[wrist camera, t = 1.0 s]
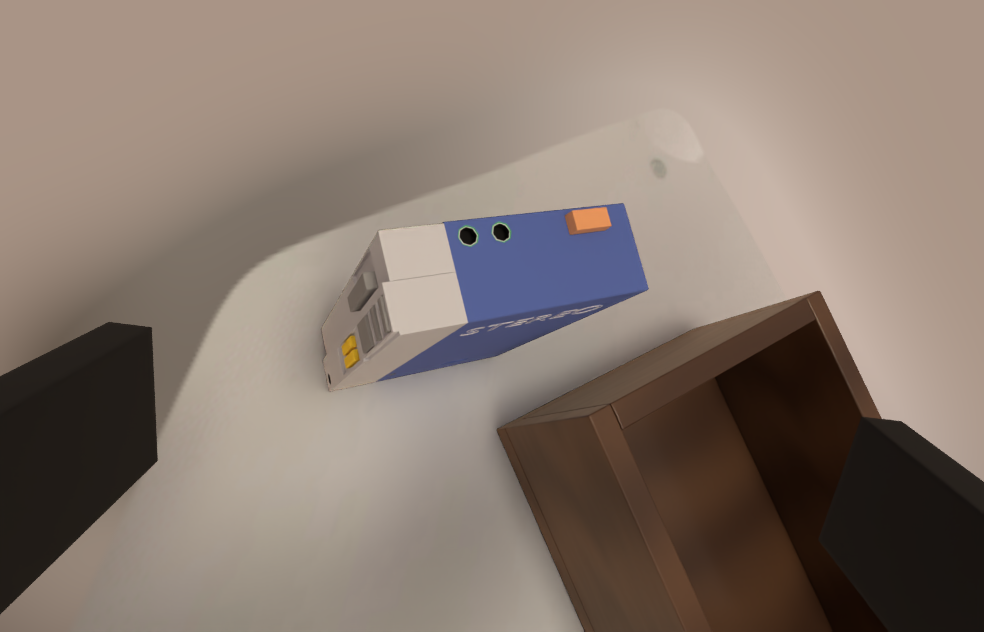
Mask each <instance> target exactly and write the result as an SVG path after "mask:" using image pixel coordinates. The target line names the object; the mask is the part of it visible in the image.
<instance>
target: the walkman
mask: <svg viewBox="0 0 984 632" xmlns="http://www.w3.org/2000/svg"><path fill="white" fill-rule="evenodd" d="M648 289H649V288H648V285H647V281H646V278H645V274H644V271H643V268H642V264H641V261H640V257H639V254H638V250H637V247H636V243H635V240H634V237H633V233H632V230H631V226H630V223H629V219H628V216H627V213H626V209H625V206H624V204H623V203H621V204H611V205H601V206H592V207H582V208H573V209H563V210H554V211H544V212H535V213H525V214H516V215H506V216H496V217H487V218H477V219H468V220H458V221H449V222H443V223H441V224H432V225H422V226H413V227H403V228H394V229H384V230H378V232H377V233H376V235H375V237H374V239H373V240H372V242H371V244H370V245H369V247H368V249H367V251H366V252H365V254H364V256H363V258H362V259H361V261H360V263H359V264H358V266H357V268H356V270H355V271H354V273H353V275H352V277H351V278H350V280H349V282H348V283H347V285H346V287H345V289H344V290H343V292H342V294H341V296H340V297H339V299H338V301H337V302H336V304H335V306H334V308H333V309H332V311H331V313H330V314H329V316H328V318H327V320H326V321H325V323H324V325H323V327H322V328H321V331H322V336H323V340H324V345H325V350H326V354H327V355H326V357H325V358H324V359H323V364H324V369H325V374H326V379H327V384H328V388H329V392H331V391H335V390H340V389H345V388H349V387H354V386H359V385H364V384H368V383H373V382H377V381H382V380H387V379H391V378H396V377H401V376H405V375H410V374H415V373H419V372H424V371H429V370H433V369H438V368H443V367H447V366H452V365H457V364H461V363H466V362H471V361H475V360H480V359H485V358H490V357H494V356H498V355H500V354H502V353H505V352H507V351H509V350H512V349H514V348H516V347H518V346H521V345H523V344H525V343H528V342H530V341H532V340H534V339H537V338H539V337H541V336H544V335H546V334H548V333H550V332H553V331H555V330H557V329H560V328H562V327H564V326H567V325H569V324H571V323H573V322H576V321H578V320H580V319H583V318H585V317H587V316H589V315H592V314H594V313H596V312H599V311H601V310H603V309H605V308H608V307H610V306H612V305H615V304H617V303H619V302H622V301H624V300H626V299H628V298H631V297H633V296H635V295H638V294H640V293H642V292H644V291H647V290H648Z"/></svg>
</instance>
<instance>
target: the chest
mask: <svg viewBox="0 0 984 632" xmlns="http://www.w3.org/2000/svg"><path fill="white" fill-rule="evenodd" d="M861 417H870V418H878V419H881V416H880V414H879V412H878V411H877V408H876V406H875V404H874V402H873V400H872V398H871V396H870V394H869V391H868V389H867V387H866V385H865V383H864V381H863V379H862V377H861V375H860V373H859V371H858V369H857V366H856V364H855V362H854V360H853V358H852V356H851V354H850V352H849V350H848V348H847V346H846V344H845V342H844V339H843V338H842V335H841V333H840V331H839V329H838V327H837V325H836V323H835V321H834V319H833V317H832V315H831V313H830V310H829V309H828V306H827V304H826V302H825V300H824V298H823V296H822V294H821V292H820V291H816V292H813V293H810V294H807V295H804V296H800V297H796V298H793V299H790V300H787V301H783V302H780V303H777V304H774V305H770V306H767V307H764V308H761V309H757V310H754V311H751V312H748V313H744V314H741V315H738V316H734V317H731V318H728V319H725V320H721V321H718V322H715V323H712V324H708V325H706V326H702V327H698V328H695V329H692V330H691V331H689V332H687V333H685V334H683V335H681V336H679V337H677V338H675V339H673V340H671V341H669V342H667V343H665V344H663V345H661V346H659V347H657V348H655V349H653V350H651V351H649V352H647V353H645V354H643V355H641V356H639V357H637V358H636V359H634V360H632V361H630V362H628V363H626V364H624V365H622V366H620V367H618V368H616V369H614V370H612V371H610V372H608V373H606V374H604V375H602V376H600V377H598V378H596V379H594V380H592V381H590V382H588V383H586V384H584V385H582V386H581V387H579V388H577V389H575V390H573V391H571V392H569V393H567V394H565V395H563V396H561V397H559V398H557V399H555V400H553V401H551V402H549V403H547V404H545V405H543V406H541V407H539V408H537V409H535V410H533V411H531V412H529V413H527V414H526V415H524V416H522V417H520V418H518V419H516V420H514V421H512V422H510V423H508V424H506V425H504V426H502V427H500V428H498V429H497V432H498V434H499V436H500V439H501V441H502V443H503V446H504V448H505V450H506V452H507V455H508V457H509V459H510V462H511V464H512V466H513V468H514V471H515V473H516V475H517V477H518V480H519V482H520V484H521V487H522V489H523V491H524V493H525V496H526V498H527V500H528V503H529V505H530V507H531V509H532V512H533V514H534V516H535V519H536V521H537V523H538V525H539V528H540V530H541V532H542V535H543V537H544V539H545V541H546V544H547V546H548V548H549V550H550V553H551V555H552V557H553V560H554V562H555V564H556V566H557V569H558V571H559V573H560V576H561V578H562V580H563V582H564V585H565V587H566V589H567V592H568V594H569V596H570V598H571V601H572V603H573V605H574V607H575V610H576V612H577V614H578V617H579V619H580V621H581V623H582V626H583V628H584V630H585V632H889V631H888V630H887V629H886V627H885V626H884V625H883V623H882V622H881V621H880V620H879V618H878V617H877V616H876V614H875V613H874V612H873V610H872V609H871V608H870V607H869V605H868V604H867V603H866V601H865V600H864V599H863V597H862V596H861V595H860V594H859V592H858V591H857V590H856V588H855V587H854V586H853V584H852V583H851V582H850V581H849V579H848V578H847V577H846V575H845V574H844V573H843V571H842V570H841V569H840V567H839V566H838V565H837V564H836V562H835V561H834V560H833V558H832V557H831V556H830V554H829V553H828V552H827V551H826V549H825V548H824V547H823V545H822V544H821V543H820V541H819V540H818V539H819V536H820V533H821V530H822V528H823V525H824V522H825V519H826V516H827V513H828V511H829V508H830V505H831V502H832V499H833V496H834V493H835V491H836V488H837V485H838V482H839V479H840V476H841V474H842V471H843V468H844V465H845V462H846V459H847V456H848V454H849V451H850V448H851V445H852V442H853V439H854V436H855V434H856V431H857V428H858V425H859V422H860V419H861Z"/></svg>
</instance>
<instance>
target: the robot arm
mask: <svg viewBox="0 0 984 632" xmlns="http://www.w3.org/2000/svg"><path fill="white" fill-rule="evenodd" d="M157 461H158V458H157V436H156V413H155V392H154V370H153V346H152V328H151V327H145V326H137V325H128V324H121V323H113V322H108V323H106V324H104V325H102V326H100V327H98V328H96V329H94V330H92V331H90V332H88V333H86V334H84V335H82V336H80V337H78V338H76V339H74V340H72V341H70V342H68V343H66V344H64V345H62V346H60V347H58V348H56V349H54V350H52V351H50V352H48V353H46V354H44V355H42V356H40V357H38V358H36V359H34V360H32V361H30V362H28V363H26V364H24V365H22V366H20V367H18V368H16V369H14V370H12V371H10V372H8V373H6V374H4V375H2V376H0V614H1V613H2V612H3V611H4V610H5V609H6V608H7V607H8V606H9V605H10V604H11V603H12V602H13V601H14V600H15V599H16V598H17V597H19V596H20V595H21V593H23V592H24V591H25V590H26V589H27V588H28V587H29V586H30V585H31V584H32V583H33V582H34V581H35V580H36V579H37V578H38V577H39V576H40V575H41V574H42V573H43V572H44V571H45V570H46V569H47V568H48V567H49V566H50V565H51V564H52V563H53V562H54V561H55V560H56V559H57V558H58V557H59V556H61V555H62V554H63V553H64V552H65V551H66V550H67V549H68V548H69V547H70V546H71V545H72V544H73V543H74V542H75V541H76V540H77V539H78V538H79V537H80V536H81V535H82V534H83V533H84V532H85V531H86V530H87V529H88V528H89V527H90V526H91V525H92V524H93V523H94V522H95V521H96V520H97V519H98V518H99V517H100V516H101V515H102V514H104V512H106V511H107V510H108V509H109V508H110V507H111V506H112V505H113V504H114V503H115V502H116V501H117V500H118V499H119V498H120V497H121V496H122V495H123V494H124V493H125V492H126V491H127V490H128V489H129V488H130V487H131V486H132V485H133V484H134V483H135V482H136V481H137V480H138V479H139V478H140V477H141V476H142V475H144V474H145V473H146V472H147V471H148V470H149V469H150V468H151V467H152V466H153V465H154V464H155V463H156V462H157ZM818 540H819V541H820V543H821V544H822V545H823V547H824V548H825V549H826V551H827V552H828V553H829V554H830V556H831V557H832V558H833V560H834V561H835V562H836V564H837V565H838V566H839V567H840V569H841V570H842V571H843V573H844V574H845V575H846V577H847V578H848V579H849V581H850V582H851V583H852V584H853V586H854V587H855V588H856V590H857V591H858V592H859V594H860V595H861V596H862V597H863V599H864V600H865V601H866V603H867V604H868V605H869V607H870V608H871V609H872V610H873V612H874V613H875V614H876V616H877V617H878V618H879V620H880V621H881V622H882V623H883V625H884V626H885V627H886V629H887V630H888V631H889V632H984V482H983V481H982V480H980V479H979V478H978V477H976V476H975V475H974V474H972V473H971V472H970V471H968V470H967V469H965V468H964V467H963V466H961V465H960V464H959V463H957V462H956V461H955V460H953V459H952V458H951V457H949V456H948V455H947V454H945V453H944V452H942V451H941V450H940V449H938V448H937V447H935V446H934V445H933V444H932V443H930V442H929V441H927V440H926V439H925V438H923V437H922V436H921V435H919V434H918V433H916V432H915V431H914V430H912V429H911V428H910V427H908V426H907V425H906V424H904V423H903V422H901V421H894V420H885V419H878V418H870V417H861V419H860V422H859V425H858V428H857V431H856V434H855V436H854V439H853V442H852V445H851V448H850V451H849V454H848V456H847V459H846V462H845V465H844V468H843V471H842V474H841V476H840V479H839V482H838V485H837V488H836V491H835V493H834V496H833V499H832V502H831V505H830V508H829V511H828V513H827V516H826V519H825V522H824V525H823V528H822V530H821V533H820V536H819V539H818Z"/></svg>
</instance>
